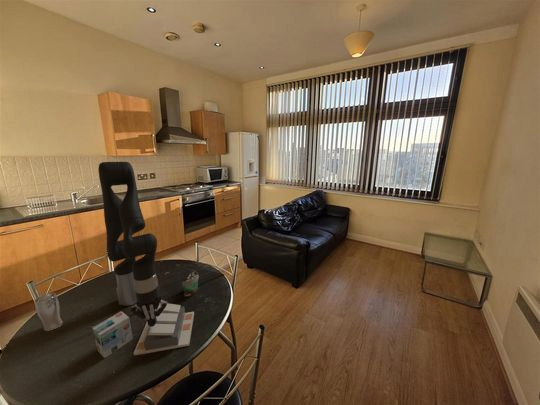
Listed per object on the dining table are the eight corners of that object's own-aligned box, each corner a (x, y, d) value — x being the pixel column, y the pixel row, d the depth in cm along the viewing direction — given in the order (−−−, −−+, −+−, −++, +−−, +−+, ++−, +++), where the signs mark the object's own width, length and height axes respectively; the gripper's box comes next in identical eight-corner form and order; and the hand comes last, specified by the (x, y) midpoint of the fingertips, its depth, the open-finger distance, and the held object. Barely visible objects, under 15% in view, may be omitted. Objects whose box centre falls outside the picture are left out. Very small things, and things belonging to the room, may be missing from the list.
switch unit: (133, 355, 83) (131, 343, 82) (148, 320, 100) (146, 309, 99) (189, 345, 88) (187, 333, 86) (194, 313, 105) (193, 303, 103)
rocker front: (147, 335, 84) (148, 332, 83) (151, 326, 88) (151, 323, 87) (173, 335, 86) (173, 332, 86) (175, 326, 90) (175, 324, 90)
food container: (195, 299, 114) (193, 282, 112) (183, 299, 114) (181, 282, 112) (202, 285, 126) (201, 269, 124) (192, 284, 126) (190, 269, 124)
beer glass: (68, 322, 99) (60, 294, 95) (48, 334, 93) (39, 304, 89) (58, 318, 101) (50, 290, 97) (38, 330, 95) (29, 300, 91)
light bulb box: (104, 359, 82) (98, 335, 79) (96, 350, 86) (91, 327, 83) (134, 338, 91) (129, 316, 88) (125, 331, 94) (121, 310, 92)
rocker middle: (152, 323, 89) (152, 320, 89) (155, 315, 93) (155, 312, 93) (175, 323, 92) (176, 321, 91) (177, 316, 96) (178, 313, 95)
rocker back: (156, 311, 95) (157, 309, 95) (159, 304, 99) (160, 302, 99) (178, 314, 97) (179, 312, 97) (180, 307, 101) (180, 305, 101)
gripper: (122, 295, 76) (130, 335, 80) (163, 289, 79) (168, 329, 83) (130, 282, 83) (137, 320, 87) (168, 278, 86) (172, 315, 90)
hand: (152, 324), depth 85 cm, fingers closed
